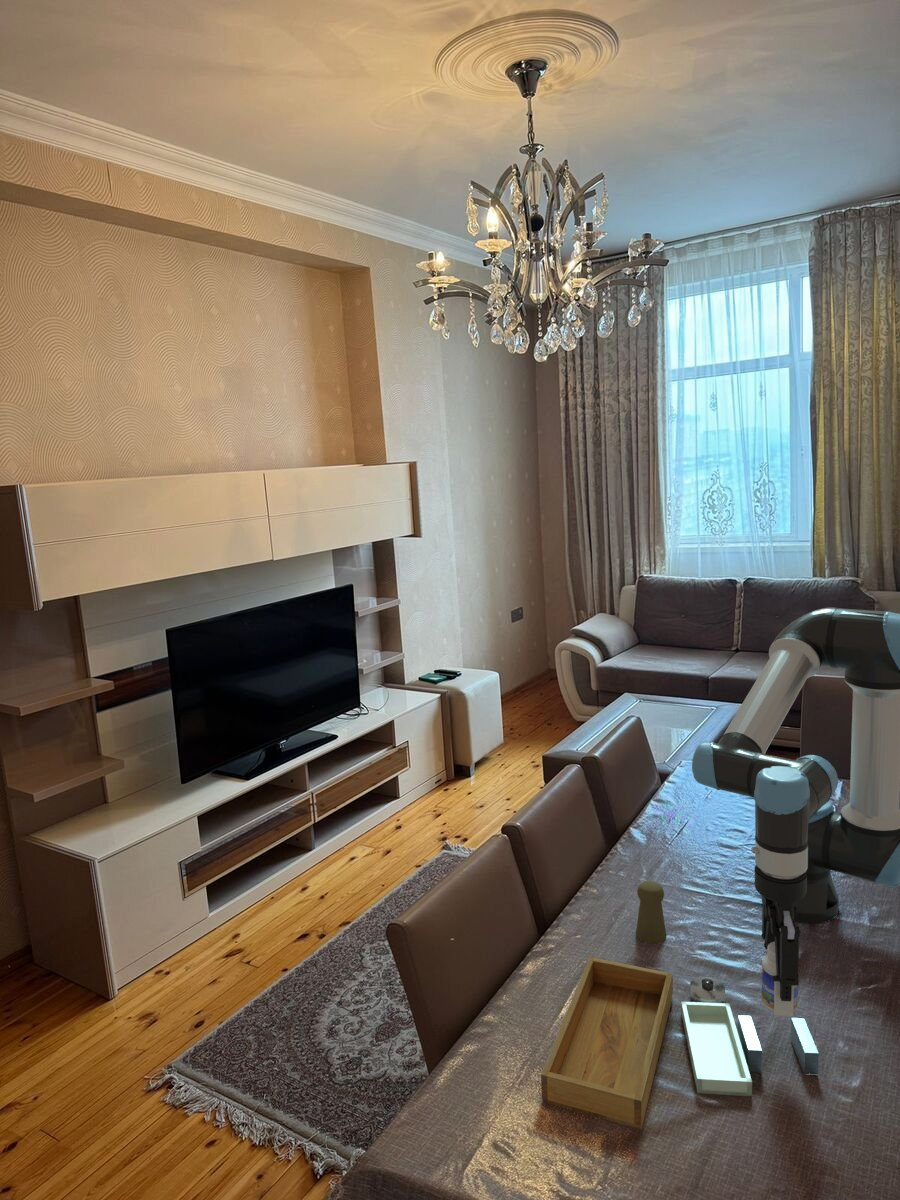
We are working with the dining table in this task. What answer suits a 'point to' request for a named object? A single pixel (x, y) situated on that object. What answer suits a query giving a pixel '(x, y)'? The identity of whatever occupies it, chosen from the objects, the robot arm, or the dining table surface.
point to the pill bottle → (767, 981)
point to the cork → (650, 913)
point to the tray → (609, 1042)
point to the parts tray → (715, 1049)
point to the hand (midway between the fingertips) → (778, 1001)
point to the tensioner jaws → (799, 1039)
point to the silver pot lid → (707, 990)
